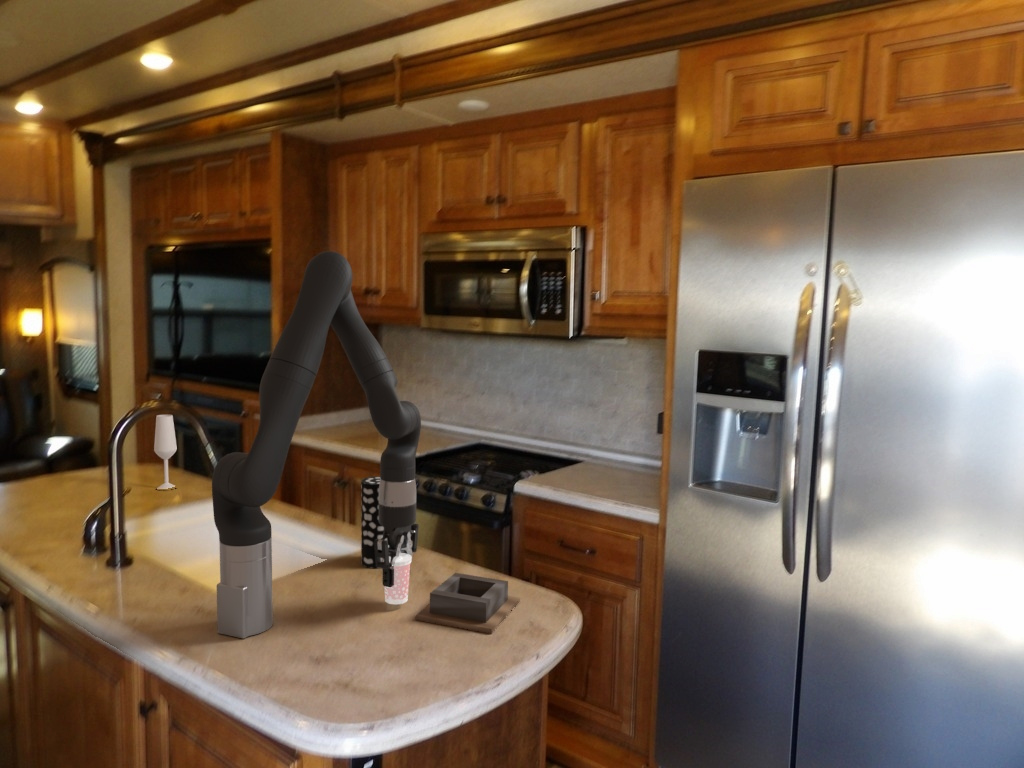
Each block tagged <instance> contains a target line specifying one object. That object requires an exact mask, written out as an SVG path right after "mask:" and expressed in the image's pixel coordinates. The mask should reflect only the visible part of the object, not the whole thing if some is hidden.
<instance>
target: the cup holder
mask: <svg viewBox="0 0 1024 768" xmlns="http://www.w3.org/2000/svg"><path fill="white" fill-rule="evenodd" d="M519 602H520V603H521V598H520V597H518V596H512V595H509V580H505V579H504V580H503V579H498V578H497V579H496V578H492V577H491V578H490V577H484V576H479V575H472V574H464V573H459V572H455V573H453V574H452V575H451V576H448V578H447V579H446V580H444V581H443V582H442V583H441V584H439V585H438V586H437V587H436V588H435V589H433V590H432V591H431V592H429V604H427V605H426V606H425V607H424V608H423V609H421V610H420V611H419V612H418V613H417V614H416V615H415V621H420V622H426V623H431V624H435V623H436V624H437V625H441V624H442V625H441V626H446V625H447V627H451V626H453V628H457V627H459V628H458V629H462V628H464V629H463V630H467V629H468V631H473V632H478V631H479V633H483V632H486V633H485V634H489V633H491V634H490V635H493V633H494V632H495V631H496V630H497V629H496V628H499V626H500V625H501V624H502V623H503V622H504V621H505V620H504V619H507V617H508V616H509V615H510V614H511V613H512V612H511V610H512V609H513V608H514V607H515V606H516V605H517V604H518V603H519ZM520 603H519V604H520ZM519 604H518V605H519ZM518 605H517V606H518ZM517 606H516V607H517ZM516 607H515V608H516ZM515 608H514V609H515ZM510 612H511V613H510ZM509 613H510V614H509ZM508 614H509V615H508ZM507 615H508V616H507ZM506 616H507V617H506ZM503 620H504V621H503ZM502 621H503V622H502ZM501 622H502V623H501ZM500 623H501V624H500ZM499 624H500V625H499ZM495 629H496V630H495ZM494 630H495V631H494ZM493 631H494V632H493Z"/></svg>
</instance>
